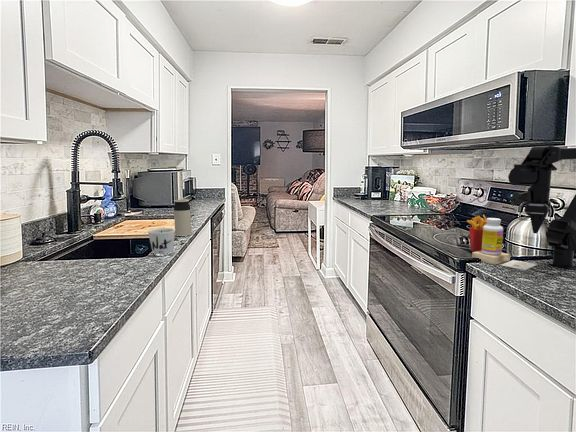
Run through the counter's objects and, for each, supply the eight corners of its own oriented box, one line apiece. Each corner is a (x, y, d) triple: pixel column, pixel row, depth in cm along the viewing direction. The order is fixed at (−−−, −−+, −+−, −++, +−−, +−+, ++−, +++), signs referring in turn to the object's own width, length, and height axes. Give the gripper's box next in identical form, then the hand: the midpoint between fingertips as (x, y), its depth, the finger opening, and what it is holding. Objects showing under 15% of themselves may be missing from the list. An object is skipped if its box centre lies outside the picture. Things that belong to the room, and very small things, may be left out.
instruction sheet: (513, 260, 148) (513, 259, 147) (537, 264, 141) (537, 264, 141) (500, 265, 141) (500, 264, 141) (525, 270, 135) (525, 269, 135)
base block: (487, 255, 155) (487, 249, 154) (509, 260, 147) (510, 254, 146) (471, 258, 150) (472, 252, 150) (494, 264, 143) (494, 257, 142)
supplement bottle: (497, 256, 144) (499, 221, 142) (478, 253, 149) (480, 219, 147) (504, 253, 148) (506, 218, 146) (486, 250, 153) (488, 216, 151)
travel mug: (185, 237, 198) (183, 201, 195) (172, 236, 201) (169, 200, 198) (194, 234, 206) (192, 199, 203) (181, 233, 208) (179, 199, 206)
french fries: (491, 254, 156) (494, 216, 154) (469, 254, 157) (471, 216, 154) (482, 249, 165) (484, 213, 162) (461, 249, 165) (463, 213, 163)
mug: (147, 258, 159) (146, 233, 157) (152, 249, 173) (151, 227, 172) (175, 256, 161) (173, 232, 159) (177, 248, 175) (176, 225, 174)
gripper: (515, 182, 145) (512, 224, 147) (508, 185, 130) (505, 233, 132) (552, 182, 138) (548, 227, 141) (549, 186, 123) (545, 236, 126)
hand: (536, 231), depth 135 cm, fingers open, 9 cm apart
